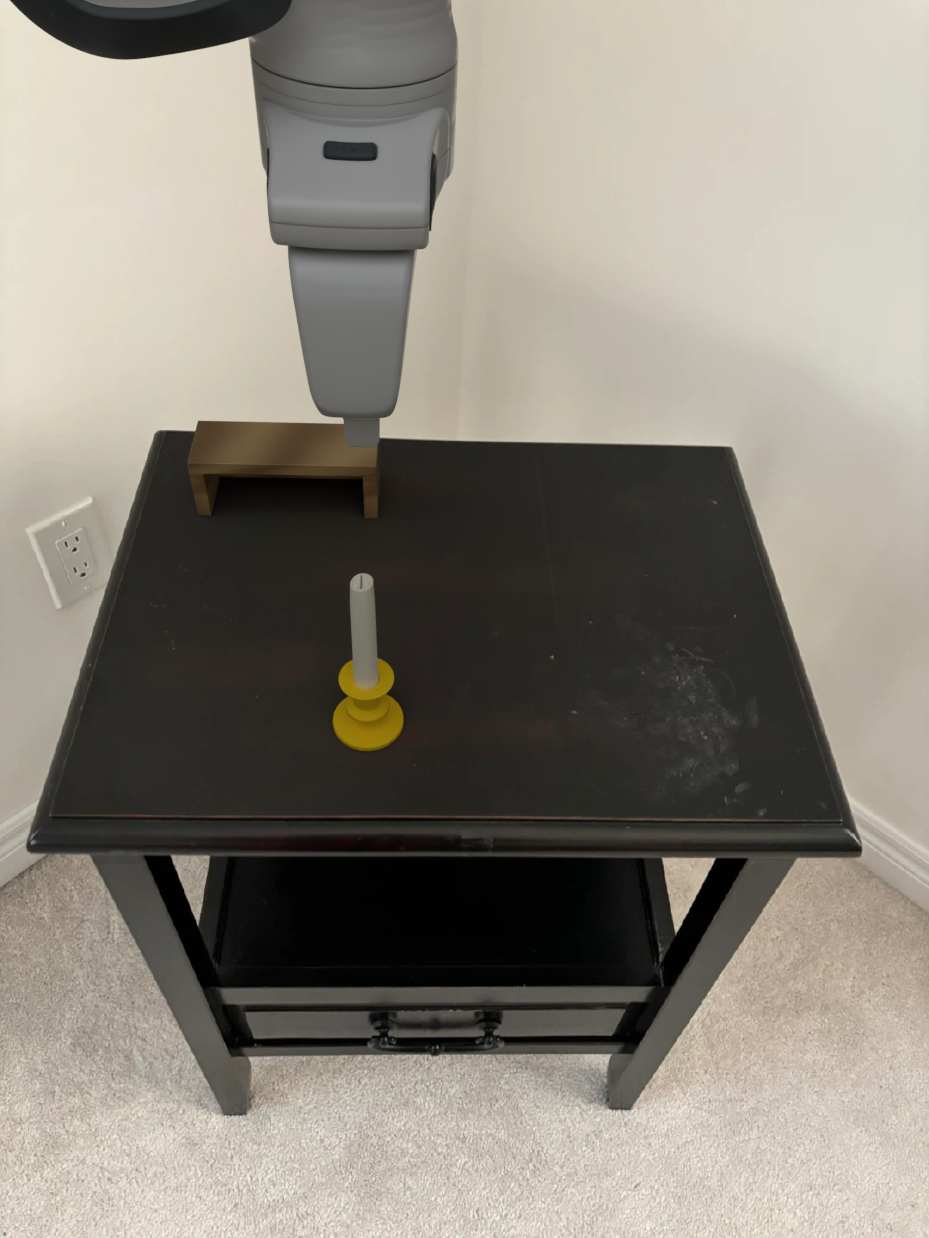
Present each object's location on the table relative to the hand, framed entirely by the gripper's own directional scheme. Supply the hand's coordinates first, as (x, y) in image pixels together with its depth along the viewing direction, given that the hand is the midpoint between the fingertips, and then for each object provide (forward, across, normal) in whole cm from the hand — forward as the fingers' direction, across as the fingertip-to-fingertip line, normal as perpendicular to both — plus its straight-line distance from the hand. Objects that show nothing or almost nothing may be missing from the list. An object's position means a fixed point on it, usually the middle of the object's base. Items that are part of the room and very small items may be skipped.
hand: (366, 387), depth 52 cm
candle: (+27, +4, 0) cm, 27 cm away
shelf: (+26, -22, -8) cm, 35 cm away
